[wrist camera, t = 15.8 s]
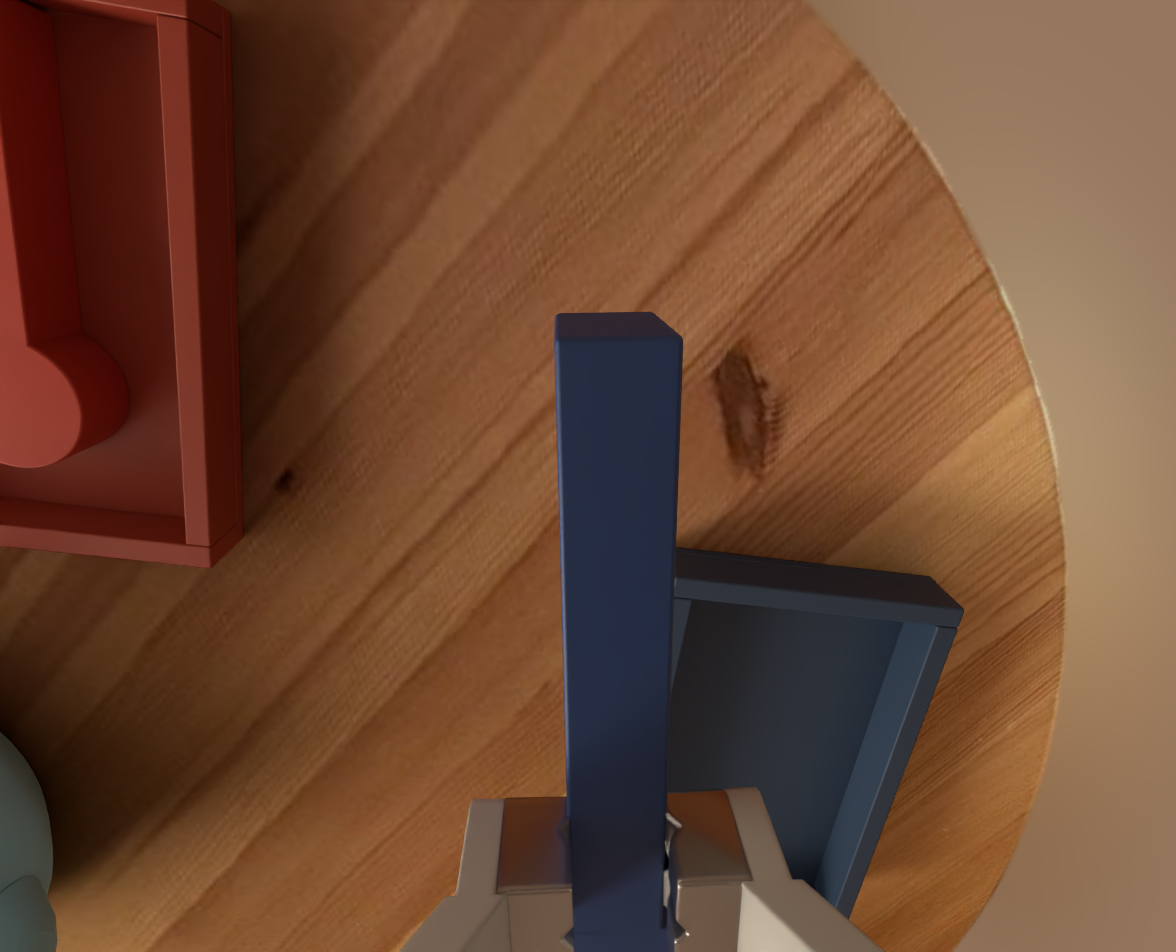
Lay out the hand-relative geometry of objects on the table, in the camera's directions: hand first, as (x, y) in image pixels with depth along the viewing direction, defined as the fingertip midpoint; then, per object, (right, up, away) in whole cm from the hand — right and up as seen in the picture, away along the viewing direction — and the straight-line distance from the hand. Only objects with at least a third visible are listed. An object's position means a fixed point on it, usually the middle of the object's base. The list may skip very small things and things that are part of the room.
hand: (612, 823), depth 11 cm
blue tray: (+7, -6, +18) cm, 20 cm away
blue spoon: (0, +2, +1) cm, 2 cm away
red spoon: (-17, +12, +10) cm, 23 cm away
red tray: (-17, +11, +11) cm, 23 cm away
